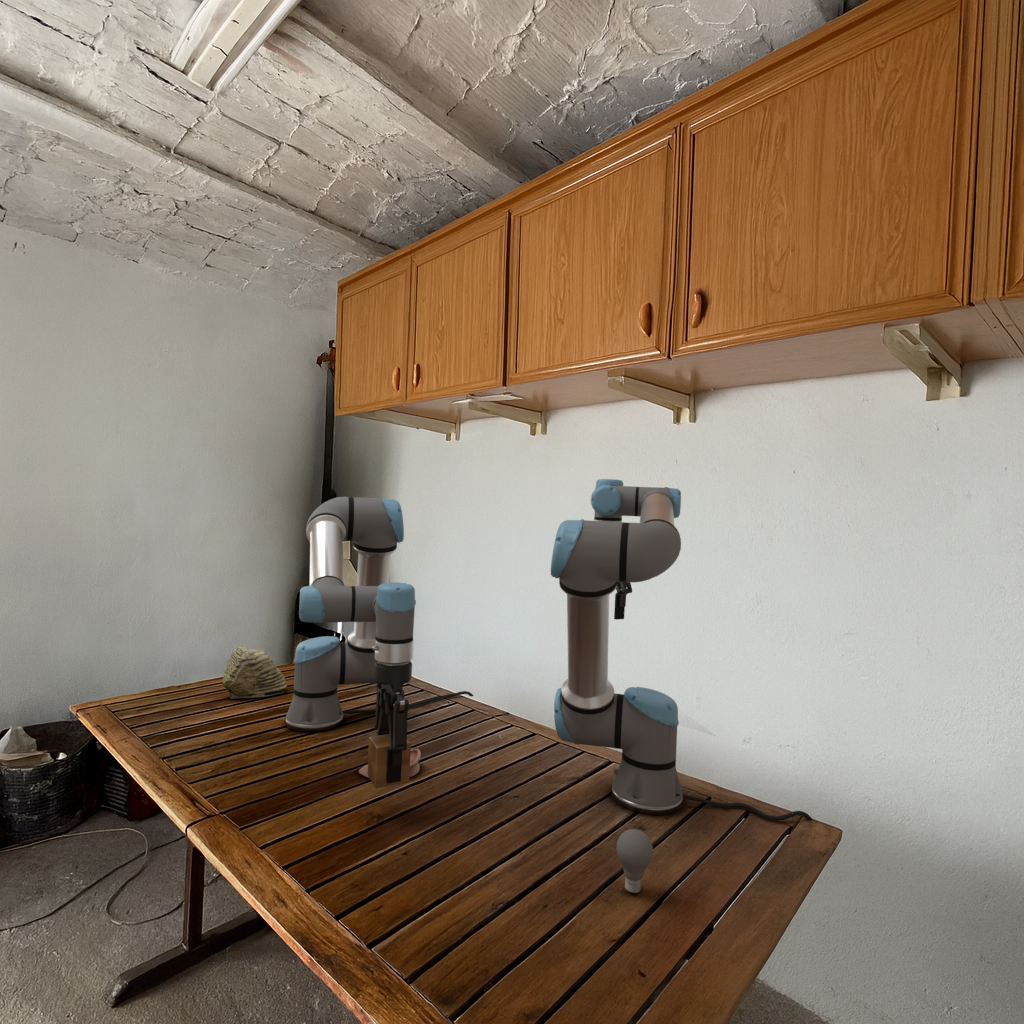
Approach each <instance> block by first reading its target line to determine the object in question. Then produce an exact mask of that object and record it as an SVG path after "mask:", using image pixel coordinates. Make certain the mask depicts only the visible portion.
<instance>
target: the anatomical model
mask: <svg viewBox="0 0 1024 1024" xmlns="http://www.w3.org/2000/svg"><path fill="white" fill-rule="evenodd" d="M421 756H422V754H421V750H420V749H419V748H411V753H410V776H409V778H410V777H413V776H415V775H417V774H418V773H419V771H420V768H421V766H420V763H419V762H420V760H421ZM358 773H359V774H360V775H361V776H363V777H366V778H368V779H369V777H368V775H367V774H368V763H367V764H365V765H363V766H362V767H361V768H360V769H359V770H358Z"/></svg>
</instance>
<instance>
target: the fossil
mask: <svg viewBox="0 0 1024 1024" xmlns="http://www.w3.org/2000/svg"><path fill="white" fill-rule="evenodd" d="M222 676H223V677H222V685H223V687H224V688H225V690H226V691H228V693H229V698H230V699H250V698H264V697H271V696H275V695H281V694H284V693H285V691H286V689H287V687H288V686H287V680H286V678H285V676H284V674H283V673H282V672H281V669H279V668H278V667H277V665H276V663H275V662H274V660H273V659H272V658H271V657H270V656H269V655H268V654H267V653H266V652H265V650H264V649H263V648H260V647H258V648H251V647H247V646H246V647H245V646H238V647H237V648H236V649H235V650H233V651H232V653H231V656H230V657H229V659H228V660H227V663H226V666H225V668H224V671H223V675H222Z"/></svg>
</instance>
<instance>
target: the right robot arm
mask: <svg viewBox="0 0 1024 1024" xmlns="http://www.w3.org/2000/svg"><path fill="white" fill-rule="evenodd" d="M590 504H591V507H592V509H593V510H594V514H593V515H594V518H593V520H587V519H586V520H585V519H583V518H582V519H566V520H563V521H562V522H560V524H559V525H558V528H557V529H556V530H557V531H556V534H555V539H554V544H553V549H552V554H551V562H550V563H551V564H550V577H553V578H555V579H558V584H559V588H560V590H562V592H564V593H565V594H566V617H567V619H566V622H567V623H566V626H567V631H566V632H567V679H566V680H564V681H563V683H562V684H561V685H562V686H561V687H559V688H558V689H557V690H556V692H555V696H554V704H553V710H554V715H553V718H554V726H555V732H556V734H557V736H558V738H559V739H560V740H561V741H562V742H565V743H571V744H574V745H584V746H593V747H600V748H601V747H602V748H610V749H618V750H621V760H620V763H619V766H618V768H615V769H613V773H612V774H613V775H614V776H615V777H614V779H613V781H612V786H611V796H612V799H613V800H614V801H615V802H616V803H617V804H619V805H620V806H621V807H624V808H626V809H628V810H630V811H633V812H636V813H640V814H646V815H654V816H655V815H656V816H657V815H658V816H659V815H669V814H673V813H675V812H678V811H679V810H680V809H681V808H682V807H683V805H684V804H683V803H684V801H683V800H688V801H692V802H697V803H701V804H705V805H710V806H713V807H717V808H724V809H725V808H727V809H731V808H743V809H747V810H749V811H752V812H753V813H755V814H757V815H758V816H759V817H761V818H763V819H766V820H768V821H769V820H770V821H775V822H779V821H784V820H788V819H791V818H794V817H797V816H800V817H803V818H805V819H806V820H808V821H813V819H814V818H812V816H811V815H809V814H808V813H807V812H806V811H803V810H795V811H791V812H788V813H785V814H782V815H771V814H767V813H764V812H763V811H761V810H759V809H758V808H757V807H755V806H754V805H750V804H747V803H743V802H727V803H726V802H723V803H722V802H719V801H714V800H710V799H706V798H702V797H697V796H692V795H687V794H683V790H682V785H681V782H680V779H679V774H678V770H677V767H676V765H677V746H678V745H677V744H678V742H677V741H678V726H679V724H680V722H679V707H678V704H677V702H676V701H675V700H674V699H673V698H672V697H671V696H669V695H668V694H666V693H663V692H661V691H658V690H655V689H652V688H647V687H642V686H636V687H635V686H630V687H627V688H626V689H625V691H624V692H623V693H616V692H615V688H614V685H613V684H612V683H611V681H609V679H608V678H609V633H610V632H609V631H610V630H609V625H610V595H611V594H612V593H614V592H615V591H616V593H615V594H614V595H615V596H614V611H613V612H614V615H613V620H617V621H618V620H625V610H626V609H625V608H626V605H627V595H628V594H632V593H633V588H632V584H631V583H642V582H646V581H649V580H652V579H654V578H656V577H658V576H660V575H662V574H663V573H665V572H666V571H668V570H669V569H670V568H671V567H672V566H673V565H674V563H676V561H677V559H678V558H679V556H680V552H681V549H682V539H681V533H680V532H679V530H678V528H677V527H676V526H675V519H677V518H679V517H680V516H681V508H682V492H681V490H680V489H679V488H674V487H667V486H665V487H658V486H657V487H656V486H655V487H654V486H653V487H652V486H631V485H630V486H629V485H628V486H627V485H624V482H623V480H621V479H615V478H614V479H613V478H599V479H597V480H596V481H595V488H594V490H593V491H592V492H591V495H590ZM623 517H639V522H623ZM792 813H793V814H792ZM795 814H796V815H797V816H796V815H795Z"/></svg>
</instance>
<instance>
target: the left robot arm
mask: <svg viewBox="0 0 1024 1024" xmlns="http://www.w3.org/2000/svg"><path fill="white" fill-rule="evenodd" d="M305 530H306V531H305V534H306V539H307V540H308V542H309V545H310V546H309V582H308V583H309V584H308V585H307V586H302V587H301V588H300V590H299V606H298V607H299V610H298V615H299V616H298V618H299V620H300V621H301V622H303V623H317V624H324V623H325V624H327V623H330V624H331V623H354V624H353V631H352V632H350V633H349V634H348V636H347V641H344V642H343V641H342V642H341V640H340V638H339V637H337V636H335V635H334V636H333V635H332V636H329V635H326V636H317V637H312V638H308V639H306V640H303V641H301V642H299V643H298V644H297V645H296V648H295V655H294V660H293V663H294V680H293V695H292V696H293V697H292V699H291V702H290V704H289V708H288V711H287V713H286V715H285V726H286V728H287V729H289V730H291V731H294V732H295V731H296V732H301V733H316V732H325V731H329V730H332V729H335V728H337V727H339V726H340V725H342V723H343V722H344V715H350V714H351V715H352V714H369V713H375V717H374V729H375V730H376V735H377V736H378V735H385V734H389V744H390V748H388V749H386V752H388V755H387V779H386V782H387V784H388V783H394V782H399V781H401V765H402V751H404V750H406V749H407V739H408V711H409V708H414V707H418V706H421V705H425V704H427V703H431V702H434V701H438V700H443V699H446V698H453V697H458V696H461V695H467V696H469V697H474V694H473V693H471V691H467V690H463V691H458V692H455V693H448V694H443V695H438V696H435V697H431V698H428V699H425V700H421V701H418V702H414V703H413V702H412V703H410V701H409V700H408V699H405V690H404V688H403V686H404V685H405V684H408V683H409V682H410V681H411V680H412V675H413V663H412V660H413V658H414V628H415V627H414V624H415V609H416V608H415V607H416V604H417V601H416V589H415V587H414V585H412V584H410V583H406V582H389V580H390V567H391V555H392V554H393V553H394V552H395V551H396V550H397V548H398V544H400V543H402V542H404V537H405V527H404V517H403V509H402V506H401V504H400V502H399V501H398V500H397V499H395V498H384V497H356V496H338V497H337V496H336V497H334V498H331V499H328V500H327V501H325V502H323V503H321V504H320V505H319V506H318V507H316V509H315V510H314V511H313V512H311V514H310V516H309V518H308V520H307V523H306V528H305ZM344 542H352V547H353V549H354V550H355V551H356V552H357V554H358V556H357V572H356V573H357V574H356V585H346V575H345V560H344V544H343V543H344ZM361 684H371V685H373V684H375V687H376V698H375V699H376V700H375V708H369V709H367V708H366V709H350V710H343V709H342V706H341V702H340V699H339V695H338V686H340V685H361Z"/></svg>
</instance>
